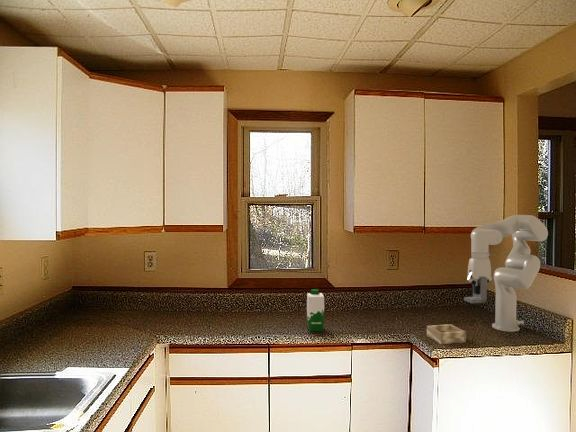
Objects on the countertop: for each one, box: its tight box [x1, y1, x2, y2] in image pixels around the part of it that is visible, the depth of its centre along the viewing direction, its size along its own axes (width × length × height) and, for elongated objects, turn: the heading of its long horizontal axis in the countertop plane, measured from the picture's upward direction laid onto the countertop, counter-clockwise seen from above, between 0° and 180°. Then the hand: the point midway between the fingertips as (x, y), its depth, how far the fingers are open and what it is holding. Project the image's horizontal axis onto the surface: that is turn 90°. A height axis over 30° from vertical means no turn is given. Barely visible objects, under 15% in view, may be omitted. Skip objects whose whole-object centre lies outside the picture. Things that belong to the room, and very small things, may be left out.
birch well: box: [426, 323, 467, 345], centre depth 191 cm, size 13×12×5 cm
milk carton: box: [306, 288, 325, 332], centre depth 206 cm, size 9×9×20 cm
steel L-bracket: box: [463, 277, 488, 304], centre depth 193 cm, size 8×6×12 cm
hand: (479, 293), depth 193 cm, fingers closed on steel L-bracket, 3 cm apart
